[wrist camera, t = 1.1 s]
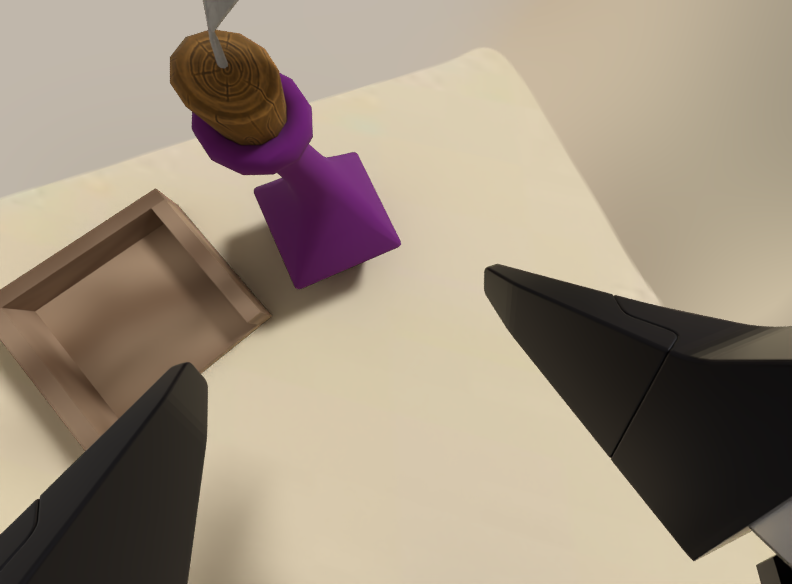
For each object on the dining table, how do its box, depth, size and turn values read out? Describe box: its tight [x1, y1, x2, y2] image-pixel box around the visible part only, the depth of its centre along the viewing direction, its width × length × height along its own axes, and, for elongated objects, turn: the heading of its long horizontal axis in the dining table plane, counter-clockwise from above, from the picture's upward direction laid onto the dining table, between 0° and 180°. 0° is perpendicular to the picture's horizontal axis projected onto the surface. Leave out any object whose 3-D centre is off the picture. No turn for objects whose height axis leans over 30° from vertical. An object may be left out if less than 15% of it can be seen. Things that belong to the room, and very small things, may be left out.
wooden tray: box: [0, 188, 272, 451], centre depth 20 cm, size 11×12×2 cm
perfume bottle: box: [170, 0, 401, 289], centre depth 15 cm, size 8×8×18 cm
